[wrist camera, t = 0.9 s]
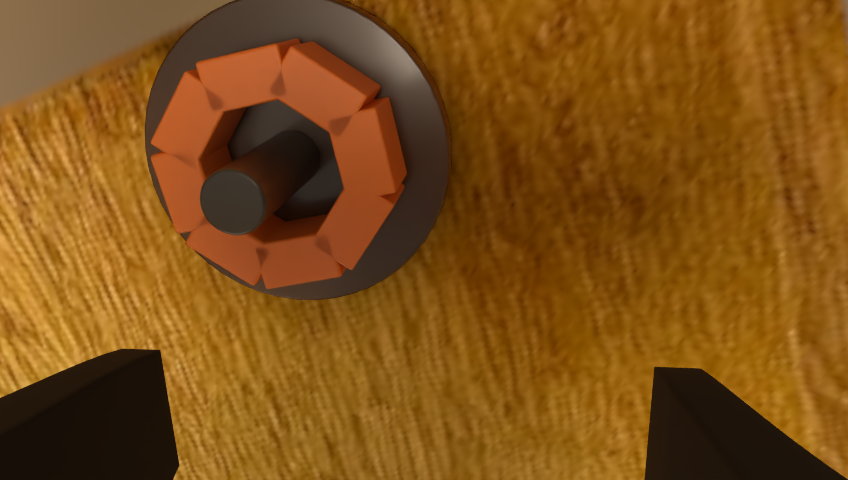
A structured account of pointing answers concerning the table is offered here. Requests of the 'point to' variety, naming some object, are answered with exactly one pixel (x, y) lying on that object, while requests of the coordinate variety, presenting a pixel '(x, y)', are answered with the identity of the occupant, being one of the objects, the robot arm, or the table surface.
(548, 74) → the table surface
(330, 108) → the ring
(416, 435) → the table surface
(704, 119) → the table surface
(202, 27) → the stake
